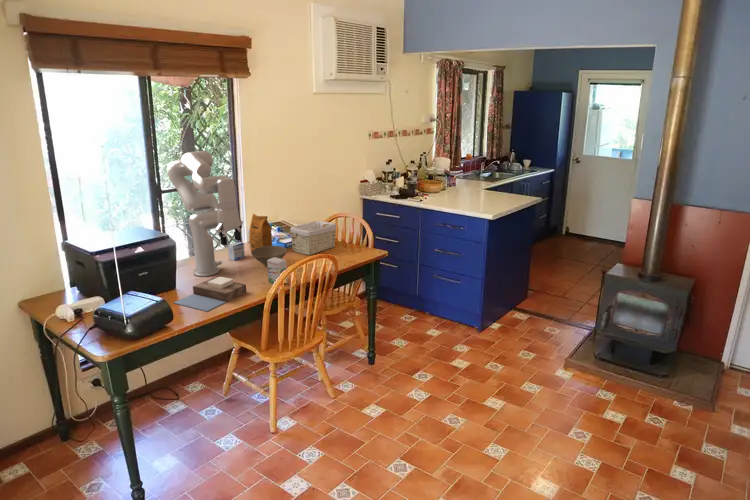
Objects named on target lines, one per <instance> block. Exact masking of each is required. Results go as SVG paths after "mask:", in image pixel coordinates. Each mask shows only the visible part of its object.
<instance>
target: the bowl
mask: <svg viewBox="0 0 750 500" xmlns="http://www.w3.org/2000/svg"><path fill="white" fill-rule="evenodd" d="M287 252H288V249H287V248H285V247H283V246H281V245H272V246H263V247H259V248H256V249H254V250H252V252H251V251H250V254H251V256H252V258H254V259H255V260H256V261H258V262H259V263H260V264H262V265H265V266H268V264H267V260H268V259H271V258H273V257H276V258H280V259H284V258H285V256H286V254H287Z"/></svg>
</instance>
